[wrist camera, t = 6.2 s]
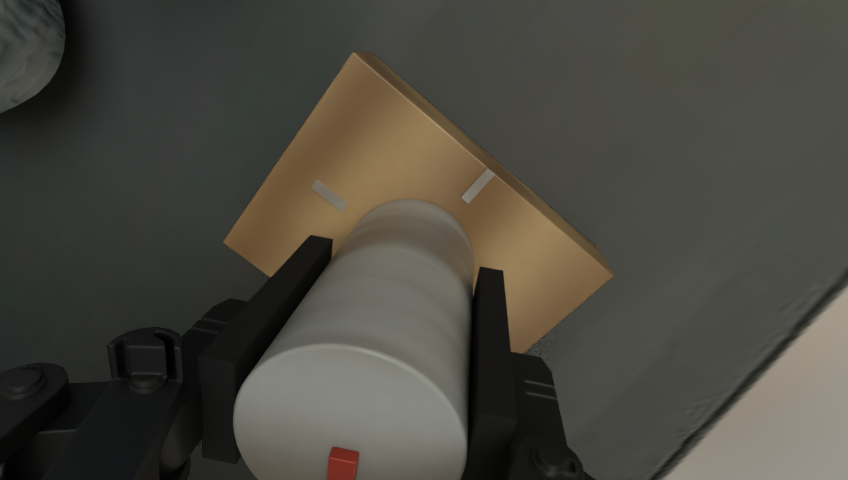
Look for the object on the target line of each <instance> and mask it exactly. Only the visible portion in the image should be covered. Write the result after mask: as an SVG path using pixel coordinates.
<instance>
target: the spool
mask: <svg viewBox="0 0 848 480" xmlns="http://www.w3.org/2000/svg"><path fill="white" fill-rule="evenodd" d="M65 37H66V36H65V22H64V18H63V14H62V10H61V6H60V2H59V0H0V113H2V112H4V111H7V110H9V109H11V108H13V107H16V106H17V105H19V104H21V103H23V102H24V101H26V100H28V99H29V98H31V97H33V96H34V95H36V94H37V93H38V92H40V91H41V90H42V89H43V88H44V87H45V86H46V85H47V84H48V83H49V82H50V80H51V79H52V77H53V76H54V74H55V73H56V71H57V69H58V67H59V65H60V62H61V59H62V56H63V53H64V44H65Z"/></svg>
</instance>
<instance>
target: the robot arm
mask: <svg viewBox="0 0 848 480" xmlns="http://www.w3.org/2000/svg"><path fill="white" fill-rule="evenodd" d="M332 245H333V239H331V238H325V237H320V236H314V235H310V236H309V237H308V238H307V239H306V240H305V241H304V242H303V243H302V244H301V245H300V247H299V248H298V249H297V250H296V251H295V252H294V253H293V254H292V255H291V256H290V257H289V258H288V260H287V261H286V262H285V263H284V264H283V265H282V266H281V267H280V268H279V269H278V270H277V271H276V273H275V274H274V275H273V276H272V277H271V278H270V279H269V280H268V281H267V282H266V283H265V284H264V285H263V287H262V288H261V289H260V290H259V291H258V292H257V293H256V294H255V295H254V296H253V297H252V298H251V300H250V301H249V302H247V301H242V300H236V299H231V298H230V299H228V300H226V301H224V302H222V303H220V304H217V305H215V306H213V307H212V308H211V309H210V310H209V311H208V312H207V313H206V314H205V315H204V316H203V317H202V318H201V320H198V321H197V322H196V323H195V324H194V325H193V326H192V328H191V329H189V330H188V331H187V332H186V333H185V334H184V335H183V336H182V337H180V335H179V334H178V333H176V332H174V331H172V330H170V329H166V328H160V327H151V328H141V329H137V330H133V331H129V332H127V333H125V334H123V335H120V336H118V337H116V338H115V339H114V340H113V341H112V342H110V343H109V344H108V345H107V348H108V355H109V362H110V369H111V376H112V380H111V381H109V382H93V383H69V379H68V374H67V373H66V371H65V370H64V368H63V367H60V366H58V365H55V364H50V363H35V364H28V365H22V366H19V367H16V368H13V369H10V370H7V371H5V372H3V373H1V374H0V480H187V478H188V476H189V472H190V465H191V461H190V454H191V453H192V452H193V450H194V449H195V447H196V446H197V445H198V443H199V442H200V440H201V439H202V454H203V458H208V459H213V460H217V461H222V462H227V463H232V464H236V463H237V462H238V460H239V458H240V457H241V453H240V451H239V448H238V446H237V443H236V439H235V435H234V428H233V413H234V405H235V401H236V397H237V394H238V392H239V390H240V388H241V386H242V384H243V382H244V381H245V380H246V378H247V377H248V375H249V374H250V372H251V371H252V370H253V368H254V367H255V365H256V364H257V363H258V361H259V360H260V359H261V357H262V356H263V354H264V353H265V352H266V350H267V349H268V347H269V346H270V345H271V343H272V342H273V340H274V339H275V338H276V336H277V335H278V333H279V332H280V331H281V329H282V328H283V326H284V325H285V324H286V322H287V321H288V319H289V318H290V317H291V315H292V314H293V312H294V311H295V310H296V308H297V307H298V305H299V304H300V303H301V301H302V300H303V299H304V297H305V296H306V294H307V293H308V292H309V290H310V289H311V287H312V286H313V285H314V283H315V282H316V280H317V279H318V278H319V276H320V275H321V273H322V272H323V271H324V269H325V268H326V266H327V265H328V264H329V262H330V261H331V258H332ZM461 480H595V479H594V478H592V477H591V476H590V475H588V474H587V473H586V472H584V471H583V466H582V463H581V462H580V460H579V459H578V457H577V455H576V454H575V453H574V452H573V451H572V450H571V449H570V448H568V447H567V443H566V438H565V433H564V429H563V424H562V419H561V415H560V410H559V405H558V401H557V396H556V391H555V389H554V382H553V377H552V373H551V370H550V369H549V368H548V366H547V365H546V364H545V362H544V361H543V360H542V358H541V357H537V356H531V355H526V354H521V353H516V352H511V347H510V336H509V326H508V315H507V305H506V295H505V284H504V274H503V270H497V269H492V268H487V267H481V266H480V268H479V272H478V277H477V281H476V286H475V290H474V295H473V313H472V340H471V368H470V396H469V424H468V452H467V461H466V467H465V470H464V473H463V476H462V478H461Z"/></svg>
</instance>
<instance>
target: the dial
mask: <svg viewBox="0 0 848 480" xmlns="http://www.w3.org/2000/svg"><path fill="white" fill-rule="evenodd" d="M473 285H474V252H473V247H472V244H471V241H470V239H469V236H468V234H467V233H466V231H465V229H464V228H463V227H462V225H461V224H460V223H459V222H458V221H457V220H456V219H455V218H454V217H453V216H452V215H451V214H449V213H448V212H447V211H445V210H444V209H442V208H440V207H438V206H436V205H434V204H431V203H429V202H425V201H421V200H414V199H400V200H393V201H389V202H386V203H383V204H381V205H378V206H377V207H375V208H373V209H372V210H370V211H369V212H368V213H366V214H365V215H364V216H363V217H362V218H361V219H360V220H359V222H358V223H357V225H356V226H355V227H354V229H353V230H352V232H351V233H350V234H349V236H348V237H347V239H346V240H345V241H344V243H343V244H342V245H341V247H340V248H339V250H338V251H337V252H336V254H335V255H334V257H333V258H332V259H331V261H330V262H329V264H328V265H327V266H326V268H325V269H324V271H323V272H322V273H321V275H320V276H319V278H318V279H317V280H316V282H315V283H314V285H313V286H312V287H311V289H310V290H309V292H308V293H307V294H306V296H305V297H304V299H303V300H302V301H301V303H300V304H299V305H298V307H297V308H296V310H295V311H294V312H293V314H292V315H291V317H290V318H289V319H288V321H287V322H286V324H285V325H284V326H283V328H282V329H281V331H280V332H279V333H278V335H277V336H276V338H275V339H274V340H273V342H272V343H271V345H270V346H269V347H268V349H267V350H266V352H265V353H264V354H263V356H262V357H261V359H260V360H259V361H258V363H257V364H256V365H255V367H254V368H253V370H252V371H251V372H250V374H249V375H248V377H247V378H246V380H245V381H244V382H243V384H242V386H241V388H240V390H239V392H238V394H237V397H236V401H235V405H234V413H233V428H234V435H235V439H236V443H237V446H238V448H239V451H240V453H241V456H242V457H243V459H244V461H245V463H246V464H247V466H248V467H249V469H250V470H251V472H252V473H253V474H254V476H255V477H256V478H257V479H258V480H461V478H462V476H463V473H464V470H465V467H466V461H467V452H468V424H469V396H470V368H471V340H472V313H473Z"/></svg>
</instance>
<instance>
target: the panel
mask: <svg viewBox="0 0 848 480" xmlns="http://www.w3.org/2000/svg"><path fill="white" fill-rule="evenodd" d="M400 199H414V200H421V201H425V202H429V203H431V204H434V205H436V206H438V207H440V208H442V209H444V210H445V211H447V212H448V213H449V214H451V215H452V216H453V217H454V218H455V219H456V220H457V221H458V222H459V223H460V224H461V225H462V227H463V228H464V229H465V231H466V233H467V234H468V236H469V239H470V241H471V244H472V247H473V252H474V285H473V295H474V290H475V286H476V281H477V277H478V272H479V268H480V266H481V267H487V268H492V269H497V270H503V274H504V284H505V295H506V305H507V315H508V326H509V336H510V347H511V352H516V353H521V354H523V353H524V352H525V351H526V350H527V349H529V348H530V347H531V346H532V345H533V344H535V343H536V342H537V341H538V340H539V339H540V338H542V337H543V336H544V335H545V334H546V333H547V332H549V331H550V330H551V329H552V328H553V327H554V326H556V325H557V324H558V323H559V322H560V321H561V320H563V319H564V318H565V317H566V316H567V315H568V314H570V313H571V312H572V311H573V310H574V309H575V308H577V307H578V306H579V305H580V304H581V303H582V302H584V301H585V300H586V299H587V298H588V297H589V296H591V295H592V294H593V293H594V292H595V291H597V290H598V289H599V288H600V287H601V286H602V285H604V284H605V283H606V282H607V281H608V280H609V279H611V278H612V277H613V273H612V272H611V270H610V268H609V266H608V265H607V263H606V261H605V260H604V258H603V256H602V254H601V253H600V251H599V249H598V248H597V247H596V246H595V245H593V244H592V243H591V242H590V241H589V240H588V239H586V238H585V237H584V236H583V235H582V234H581V233H580V232H578V231H577V230H576V229H575V228H574V227H573V226H571V225H570V224H569V223H568V222H567V221H566V220H564V219H563V218H562V217H561V216H560V215H559V214H558V213H556V212H555V211H554V210H553V209H552V208H551V207H549V206H548V205H547V204H546V203H545V202H544V201H542V200H541V199H540V198H539V197H538V196H537V195H536V194H534V193H533V192H532V191H531V190H530V189H529V188H527V187H526V186H525V185H524V184H523V183H522V182H521V181H519V180H518V179H517V178H516V177H515V176H514V175H512V174H511V173H510V172H509V171H508V170H507V169H505V168H504V167H503V166H502V165H501V164H500V163H499V162H497V161H496V160H495V159H494V158H493V157H492V156H490V155H489V154H488V153H487V152H486V151H485V150H483V149H482V148H481V147H480V146H479V145H478V144H477V143H475V142H474V141H473V140H472V139H471V138H470V137H468V136H467V135H466V134H465V133H464V132H463V131H461V130H460V129H459V128H458V127H457V126H456V125H455V124H453V123H452V122H451V121H450V120H449V119H448V118H446V117H445V116H444V115H443V114H442V113H441V112H440V111H438V110H437V109H436V108H435V107H434V106H433V105H431V104H430V103H429V102H428V101H427V100H426V99H424V98H423V97H422V96H421V95H420V94H419V93H418V92H416V91H415V90H414V89H413V88H412V87H411V86H409V85H408V84H407V83H406V82H405V81H404V80H402V79H401V78H400V77H399V76H398V75H397V74H396V73H394V72H393V71H392V70H391V69H390V68H389V67H387V66H386V65H385V64H384V63H383V62H382V61H380V60H379V59H378V58H377V57H376V56H375V55H374V54H372V53H371V52H353V53H352V54H351V55H350V57H349V58H348V59H347V61H346V62H345V64H344V65H343V67H342V68H341V70H340V71H339V73H338V74H337V76H336V77H335V78H334V80H333V81H332V83H331V84H330V86H329V87H328V89H327V90H326V92H325V93H324V95H323V96H322V97H321V99H320V100H319V102H318V103H317V105H316V106H315V108H314V109H313V111H312V112H311V114H310V115H309V117H308V118H307V119H306V121H305V122H304V124H303V125H302V127H301V128H300V130H299V131H298V133H297V134H296V136H295V137H294V138H293V140H292V141H291V143H290V144H289V146H288V147H287V149H286V150H285V152H284V153H283V155H282V156H281V157H280V159H279V160H278V162H277V163H276V165H275V166H274V168H273V169H272V171H271V172H270V174H269V175H268V177H267V178H266V179H265V181H264V182H263V184H262V185H261V187H260V188H259V190H258V191H257V193H256V194H255V196H254V197H253V198H252V200H251V201H250V203H249V204H248V206H247V207H246V209H245V210H244V212H243V213H242V215H241V216H240V218H239V219H238V220H237V222H236V223H235V225H234V226H233V228H232V229H231V231H230V232H229V234H228V235H227V237H226V238H225V239H224V241H223V243H224V244H226V245H227V246H228V247H230V248H231V249H232V250H234V251H235V252H236V253H238V254H239V255H240V256H242V257H243V258H245V259H246V260H247V261H249V262H250V263H251V264H253V265H254V266H255V267H257V268H258V269H259V270H261V271H262V272H264V273H265V274H266V275H268V276H269V277H270V278H271V277H272V276H273V275H274V274H275V273H276V271H277V270H278V269H279V268H280V267H281V266H282V265H283V264H284V263H285V262H286V261H287V260H288V258H289V257H290V256H291V255H292V254H293V253H294V252H295V251H296V250H297V249H298V248H299V247H300V245H301V244H302V243H303V242H304V241H305V240H306V239H307V238H308V237H309V236H310V235H314V236H320V237H325V238H331V239H333V245H332V258H333V257H334V255H335V254H336V252H337V251H338V250H339V248H340V247H341V245H342V244H343V243H344V241H345V240H346V239H347V237H348V236H349V234H350V233H351V232H352V230H353V229H354V227H355V226H356V225H357V223H358V222H359V220H360V219H361V218H362V217H363V216H364V215H365V214H366V213H368V212H369V211H370V210H372V209H373V208H375V207H377V206H378V205H381V204H383V203H386V202H389V201H393V200H400ZM332 258H331V259H332Z"/></svg>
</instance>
